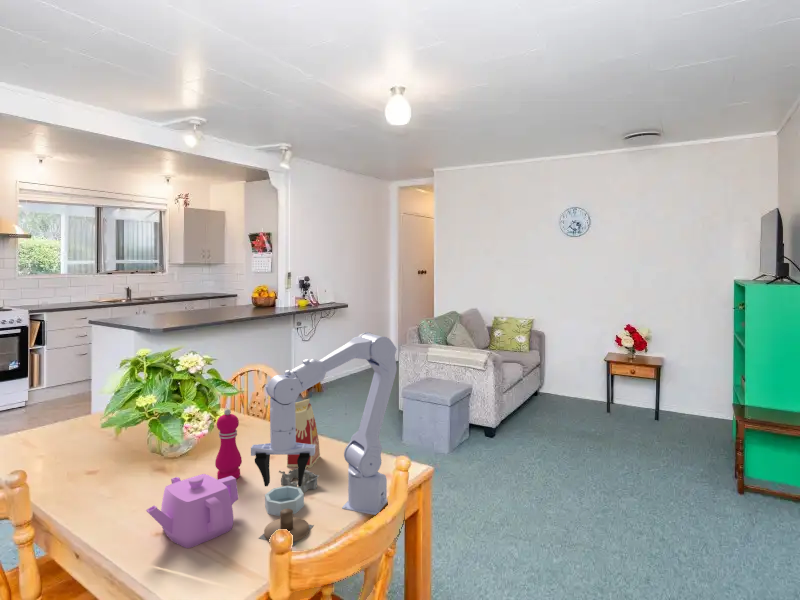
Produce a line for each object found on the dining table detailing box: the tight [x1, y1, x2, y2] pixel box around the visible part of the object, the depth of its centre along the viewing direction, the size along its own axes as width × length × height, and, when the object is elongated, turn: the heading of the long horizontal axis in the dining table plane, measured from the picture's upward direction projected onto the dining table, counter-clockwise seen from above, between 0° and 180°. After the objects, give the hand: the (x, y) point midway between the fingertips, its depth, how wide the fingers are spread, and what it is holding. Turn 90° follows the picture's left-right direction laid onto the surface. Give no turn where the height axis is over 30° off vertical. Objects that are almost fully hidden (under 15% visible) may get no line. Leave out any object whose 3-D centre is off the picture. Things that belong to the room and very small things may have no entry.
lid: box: [263, 509, 310, 542], centre depth 113 cm, size 10×10×5 cm
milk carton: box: [286, 398, 321, 469], centre depth 153 cm, size 9×9×20 cm
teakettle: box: [145, 473, 239, 549], centre depth 114 cm, size 17×17×12 cm
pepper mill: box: [214, 408, 243, 480], centre depth 142 cm, size 7×7×20 cm
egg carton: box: [278, 467, 320, 493], centre depth 138 cm, size 11×8×4 cm
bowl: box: [264, 485, 305, 517], centre depth 125 cm, size 9×9×4 cm
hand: (283, 484), depth 115 cm, fingers open, 7 cm apart
